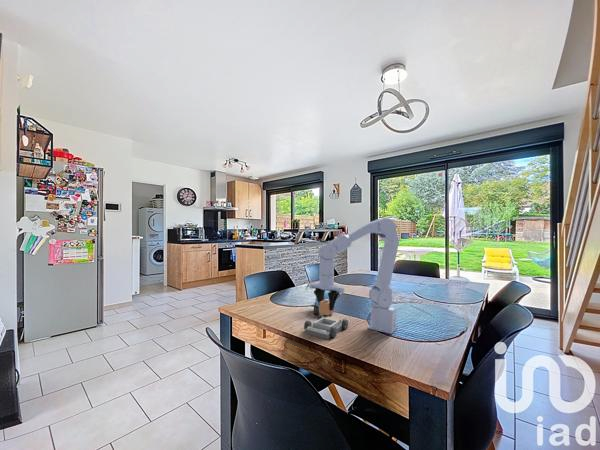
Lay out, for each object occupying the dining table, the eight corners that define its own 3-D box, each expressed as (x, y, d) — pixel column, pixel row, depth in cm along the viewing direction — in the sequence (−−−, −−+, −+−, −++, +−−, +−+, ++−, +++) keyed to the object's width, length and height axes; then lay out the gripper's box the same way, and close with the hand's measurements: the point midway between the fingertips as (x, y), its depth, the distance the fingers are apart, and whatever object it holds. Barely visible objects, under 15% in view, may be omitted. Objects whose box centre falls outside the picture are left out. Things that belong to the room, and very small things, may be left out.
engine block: (333, 312, 103) (333, 299, 103) (328, 315, 100) (328, 301, 100) (324, 311, 105) (324, 297, 105) (319, 313, 102) (319, 300, 102)
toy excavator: (331, 306, 134) (331, 273, 134) (332, 316, 118) (332, 279, 118) (314, 305, 135) (315, 272, 135) (313, 316, 118) (313, 278, 119)
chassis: (349, 326, 105) (349, 317, 106) (330, 340, 92) (330, 330, 92) (322, 320, 113) (322, 312, 113) (302, 332, 99) (302, 322, 99)
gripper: (305, 274, 104) (305, 308, 103) (338, 277, 95) (338, 314, 95) (315, 271, 110) (314, 303, 109) (346, 275, 101) (346, 310, 101)
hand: (326, 308), depth 103 cm, fingers closed on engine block, 4 cm apart
